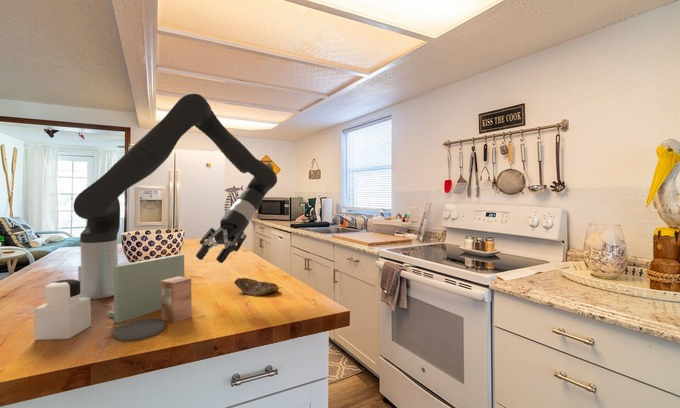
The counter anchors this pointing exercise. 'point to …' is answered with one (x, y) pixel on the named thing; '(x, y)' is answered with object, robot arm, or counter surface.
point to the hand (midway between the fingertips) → (208, 259)
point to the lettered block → (176, 299)
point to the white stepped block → (62, 311)
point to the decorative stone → (255, 286)
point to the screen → (142, 285)
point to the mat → (139, 329)
